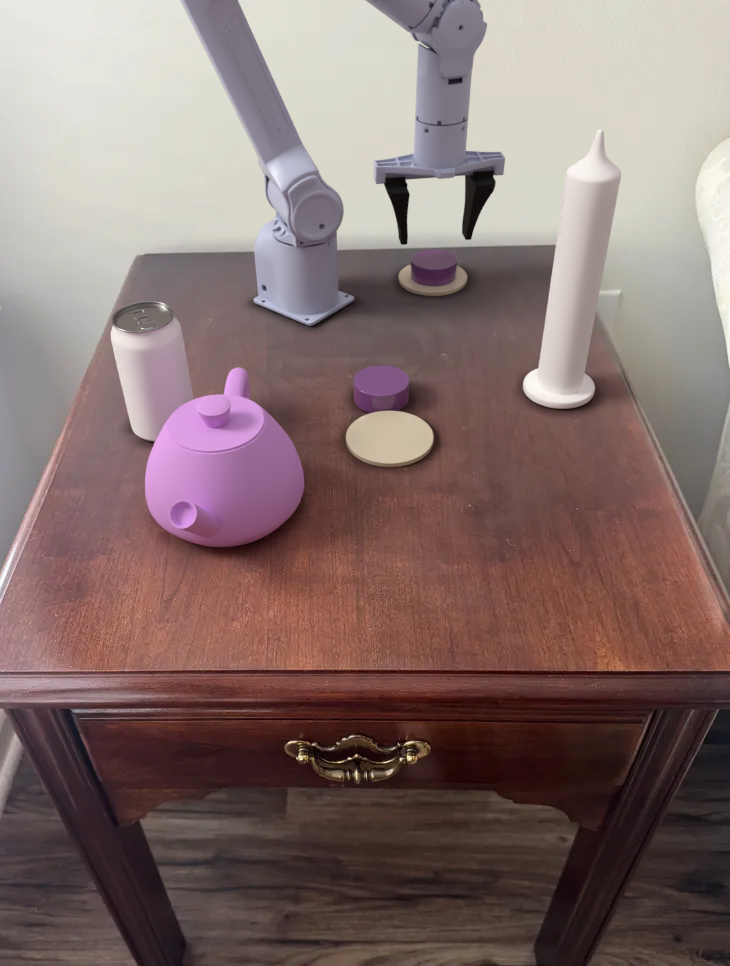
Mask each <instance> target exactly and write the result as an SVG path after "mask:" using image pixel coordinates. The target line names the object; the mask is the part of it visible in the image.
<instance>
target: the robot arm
mask: <svg viewBox="0 0 730 966" xmlns="http://www.w3.org/2000/svg"><path fill="white" fill-rule="evenodd" d="M179 1H180V3H181V6H182V7H183V9H184V12H185V13H186V15H187V18H188V20H189V21H190V23H191V25H192V27H193V29H194V32H195V33H196V35H197V37H198V39H199V42H200V43H201V46H202V47H203V50H204V51H205V53H206V55H207V57H208V60H209V61H210V64H211V65H212V68H213V70H214V71H215V74H216V75H217V77H218V79H219V81H220V84H221V85H222V88H223V89H224V91H225V93H226V96H227V97H228V100H229V101H230V103H231V105H232V107H233V110H234V112H235V114H236V116H237V118H238V120H239V121H240V123H241V126H242V128H243V130H244V132H245V133H246V136H247V138H248V139H249V142H250V144H251V146H252V147H253V149H254V151H255V153H256V156H257V162H258V165H259V167H260V169H261V172H262V174H263V178H264V195H265V199H266V200H267V202H268V204H269V205H270V207H271V208H273V210H274V211H275V216H274V219H272V220H270V221H267V222H266V224H264V225H263V226H262V227H261V229H260V230H259V231H258V234H257V236H256V239H255V242H254V248H253V253H254V265H255V275H256V285H257V296H255V297H254V298H253V303H254V304H256V305H258V306H260V307H263V308H266V309H268V310H271V311H273V312H274V313H278V314H280V315H282V316H284V317H287V318H289V319H290V320H291V319H292V320H293V321H296V322H299V323H301V324H303V325H306V326H309V327H312V326H315V325H317V324H318V323H320V322H321V321H323V320H325V319H326V318H328V317H330V316H331V315H333V314H334V313H336V312H338V311H339V310H341V309H343V308H344V307H347V306H348V305H350V304H351V303H352V302H354V301H355V296H353V295H351V294H349V293H346V292H344V291H340V290H339V264H338V263H339V262H338V259H339V258H338V230H339V228H340V226H341V225H342V222H343V219H344V213H345V211H344V210H345V207H344V203H343V199H342V197H341V195H340V194H339V192H337V191H336V190H335V189H334V188H333V187H332V186H331V185H329V184H328V183H327V181H325V179H323V177H322V175H321V173H320V171H319V169H318V167H317V166H316V163H315V162H314V160H313V159H312V157H311V156H310V153H309V152H308V150H307V149H306V147H305V145H304V143H303V142H302V139H301V137H300V135H299V133H298V131H297V129H296V126H295V123H294V122H293V120H292V117H291V114H290V112H289V110H288V108H287V106H286V103H285V101H284V100H283V97H282V94H281V93H280V90H279V88H278V86H277V84H276V82H275V79H274V77H273V74H272V73H271V70H270V69H269V66H268V64H267V61H266V59H265V58H264V55H263V52H262V51H261V49H260V46H259V43H258V42H257V40H256V37H255V34H254V32H253V31H252V28H251V26H250V24H249V22H248V20H247V18H246V15H245V13H244V11H243V9H242V6H241V4H240V2H239V0H179ZM365 1H366V2H367V3H368V4H369V5H371V6H372V7H374V8H375V9H376V10H378V11H379V12H381V13H382V14H383V15H384V16H385V17H387V18H388V19H390V20H391V21H393V22H394V23H395V24H397V25H398V26H400V27H401V28H402V29H404V30H405V31H406V32H408V33H410V35H411V37H412V39H413V40H414V41H416V42H419V43H418V44H417V65H416V85H415V86H416V88H415V89H416V90H415V114H414V116H415V118H414V119H415V120H414V139H413V140H414V141H413V153H409V154H408V153H407V154H404V155H399V156H395V157H391V158H384V159H376V160H373V180H374V182H375V184H376V185H383V186H384V188H385V191H386V193H387V196H388V198H389V200H390V203H391V206H392V209H393V212H394V216H395V220H396V226H397V234H398V240H399V243H400V245H401V246H405V245H408V240H409V237H408V236H409V235H408V234H409V233H408V231H409V230H408V212H409V202H410V196H411V195H410V191H409V189H408V183H407V180H408V181H409V180H421V179H422V180H423V179H435V178H436V179H440V180H442V179H453V178H455V177H464V187H465V188H464V207H463V214H462V221H461V222H462V223H461V233H462V234H461V235H462V236H463V238H464V240H465V241H470V240H471V241H472V237H473V234H474V231H475V227H476V225H477V222H478V219H479V217H480V214H481V213H482V211H483V208H484V206H485V205H486V203H487V201H488V200H489V198H490V197H491V195H492V194H493V193H494V191H495V188H496V183H497V181H496V179H495V178H494V177H497V176H504V175H505V174H504V173H505V163H506V157H505V156H504V154H503V153H502V151H478V150H477V151H476V150H467V141H468V140H467V139H468V126H469V115H470V101H471V98H470V97H471V87H472V77H473V76H472V75H473V68H474V58H475V54H476V52H477V50H478V49H479V47H480V46H481V44H482V43H483V41H484V38H485V35H486V33H487V28H488V23H487V22H485V20H484V13H483V12H484V11H483V10H482V9H481V8H482V6H481V4H480V2H479V0H365Z"/></svg>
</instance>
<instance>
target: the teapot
mask: <svg viewBox="0 0 730 966" xmlns="http://www.w3.org/2000/svg"><path fill="white" fill-rule="evenodd" d="M250 394H251V390H250V377H249V374H248V372H247V370H246V369H245V368H243V367H238V366H237V367H234V368H232V369H231V370H230V371H229V373H228V375H227V377H226V381H225V385H224V391H223V393H222V394H221V393H220V394H210V395H209V394H208V395H204V396H199V397H196V398H193V400H191V401H189V402H187V403H185V404H183V405H182V406H180V407H179V408H178V409H176V410H175V411H174V412H173V413H172V414H171V416H170V417H169V418H168V420H167V421H166V423H165V424H164V426H163V428H162V430H161V431H160V433H159V435H158V437H157V439H156V441H155V442H153V445H152V448H151V451H150V452H149V456H148V459H147V462H146V468H145V477H144V490H145V491H144V495H145V501H146V505H147V508H148V511H149V513H150V515H151V516H152V517H153V519H154V520H155V521H156V523H157V524H158V525H159V526H160V527H161V528H162V529H163V530H165V531H167V533H169V534H171V535H173V536H175V537H177V538H179V539H181V540H183V541H186V542H189V543H192V544H195V545H200V546H204V547H210V548H231V547H238V546H239V547H240V546H243V545H247V544H250V543H253V542H256V541H258V540H260V539H263V538H264V537H266V536H268V535H270V534H271V533H273V532H274V531H276V530H277V529H278V528H280V527H281V526H282V525H283V524H284V523H285V522H286V521H287V520H289V518H290V517H291V516H292V515H293V514H294V513H295V512H296V510H297V509H298V506H299V505H300V502H301V500H302V497H303V494H304V491H305V490H304V489H305V474H304V469H303V465H302V462H301V458H300V456H299V454H298V451H297V449H296V447H295V444H294V443H293V441H292V440H291V438H290V436H289V435H288V433H287V432H286V431H285V429H284V428H283V427H282V426H281V425H280V424H279V423H278V422H277V421H276V419H275V418H273V416H272V415H271V414H270V413H269V412H268V411H267V410H265V409H264V408H263V406H261V405H259V404H258V403H257V402H255V401H253V400H251V395H250Z"/></svg>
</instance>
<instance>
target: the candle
mask: <svg viewBox="0 0 730 966" xmlns="http://www.w3.org/2000/svg"><path fill="white" fill-rule="evenodd" d="M605 146H606V145H605V131H604V130H603V129H598V130H597V131H596V134H595V136H594V140H593V142H592V144H591V146H590V149H589V150H588V152H587V153H586V155H585V156H584V157H583V158H581V159H579V160H577V161H576V162H575V163H573V164H571V165H570V166H569V167H568V168H567V170H566V173H565V180H564V187H563V193H562V200H561V207H560V215H559V221H558V230H557V234H556V235H557V236H556V242H555V248H554V249H555V250H554V255H553V263H552V269H551V270H552V271H551V278H550V285H549V291H548V298H547V305H546V312H545V319H544V326H543V333H542V339H541V347H540V352H539V353H540V354H539V360H538V368H535V369H533V370H531V371H529V372H528V373H527V374H526V375H525V377H524V379H523V382H522V390H523V393H524V394H525V396H526V397H528V399H529V400H531V401H532V402H534V403H536V404H538V405H540V406H543V407H545V408H550V409H559V410H566V409H567V410H568V409H575V408H579V407H582V406H583V405H585V404H586V405H587V403H589V402H590V401H591V400H592V399H593V398H594V395H595V391H596V385H595V382H594V381H593V379H592V378H591V377H590V376H589V375H588V374H587V373H585V371H586V366H587V362H588V356H589V350H590V345H591V341H592V335H593V329H594V325H595V319H596V314H597V307H598V301H599V297H600V291H601V286H602V280H603V275H604V270H605V264H606V261H607V260H606V259H607V254H608V249H609V243H610V237H611V233H612V226H613V222H614V216H615V211H616V205H617V199H618V194H619V189H620V184H621V179H622V171H621V169H620V168H619V167H618V166H617V165H616V164H614V162H612V161H611V160H610V159H609V158H608V157H607V156H608V155H607V152H606V148H605Z"/></svg>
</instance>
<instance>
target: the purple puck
mask: <svg viewBox="0 0 730 966" xmlns="http://www.w3.org/2000/svg"><path fill="white" fill-rule="evenodd" d="M409 398H410V378H409V375H408V374H407V373H406V372H405V371H404V370H403V369H401V368H399V367H396V366H393V365H386V364H385V365H384V364H378V365H371V366H367V367H364V368H363V369H360V370H359V371H358V372H357V373H356V374H355V376H354V377H353V402H354V404H355V405H356V406H357V407H358V408H359V409H360V410H362V411H364V412H367V413H368V414H370V413H373V412H378V411H400V410H402V409H403V408H405V407H406V406H407V404H408V403H409Z"/></svg>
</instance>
